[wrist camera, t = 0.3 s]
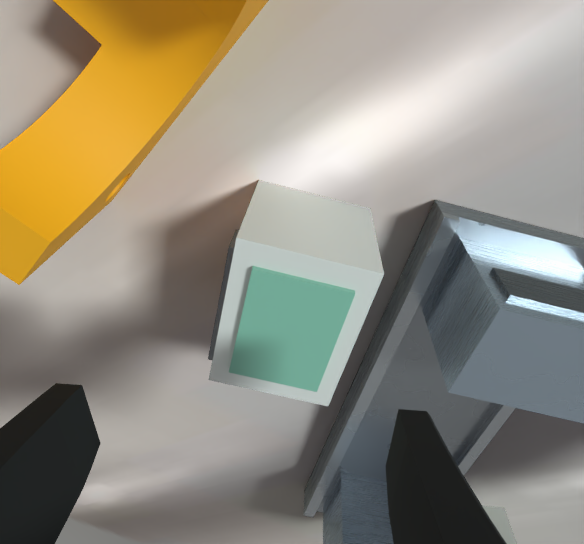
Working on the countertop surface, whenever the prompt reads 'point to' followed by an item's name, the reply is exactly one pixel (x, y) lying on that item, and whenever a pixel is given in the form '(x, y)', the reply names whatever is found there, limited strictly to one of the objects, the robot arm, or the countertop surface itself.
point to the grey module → (294, 293)
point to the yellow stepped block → (108, 116)
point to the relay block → (501, 523)
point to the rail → (421, 355)
